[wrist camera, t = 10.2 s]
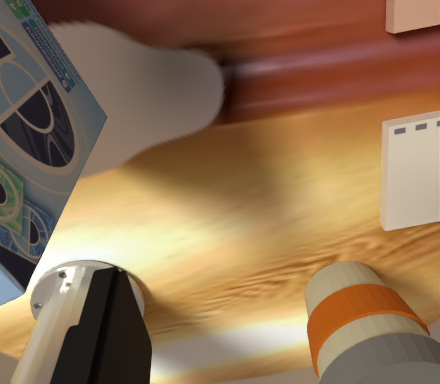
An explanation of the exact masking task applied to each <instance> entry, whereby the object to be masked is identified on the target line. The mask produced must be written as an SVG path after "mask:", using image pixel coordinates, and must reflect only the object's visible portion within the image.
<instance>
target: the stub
mask: <svg viewBox="0 0 440 384" xmlns="http://www.w3.org/2000/svg"><path fill="white" fill-rule="evenodd" d="M439 24H440V0H386V31H387V32H390V33H399V32H404V31H409V30H414V29H419V28H424V27H429V26H434V25H439Z"/></svg>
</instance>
